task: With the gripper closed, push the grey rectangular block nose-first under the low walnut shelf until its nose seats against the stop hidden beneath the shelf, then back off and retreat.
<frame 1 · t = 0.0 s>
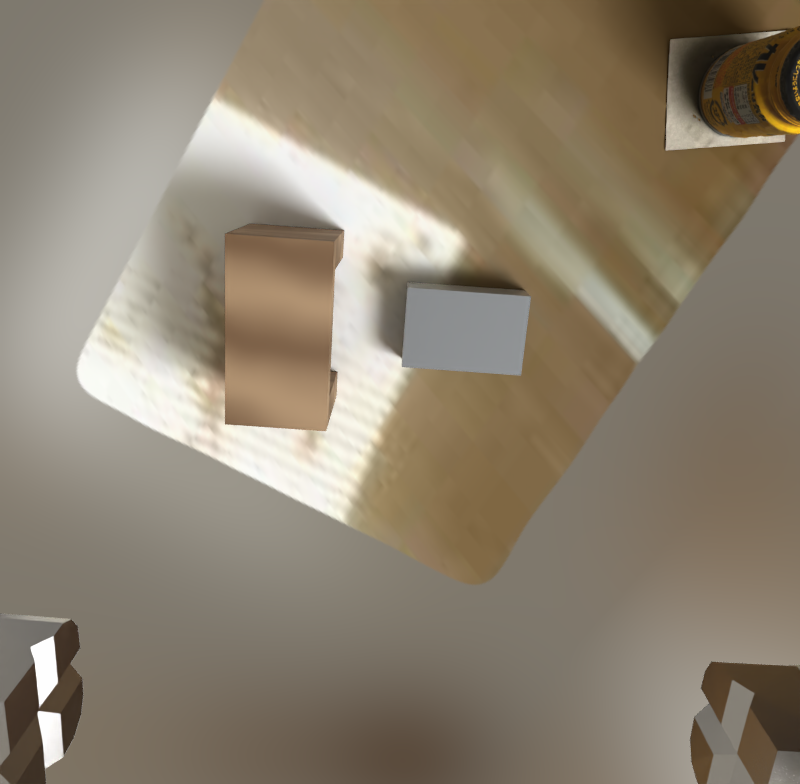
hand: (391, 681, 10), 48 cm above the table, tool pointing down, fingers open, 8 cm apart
condiment: (725, 92, 52), on the table
shelf: (294, 312, 57), on the table
grey rectangular block: (462, 323, 57), on the table
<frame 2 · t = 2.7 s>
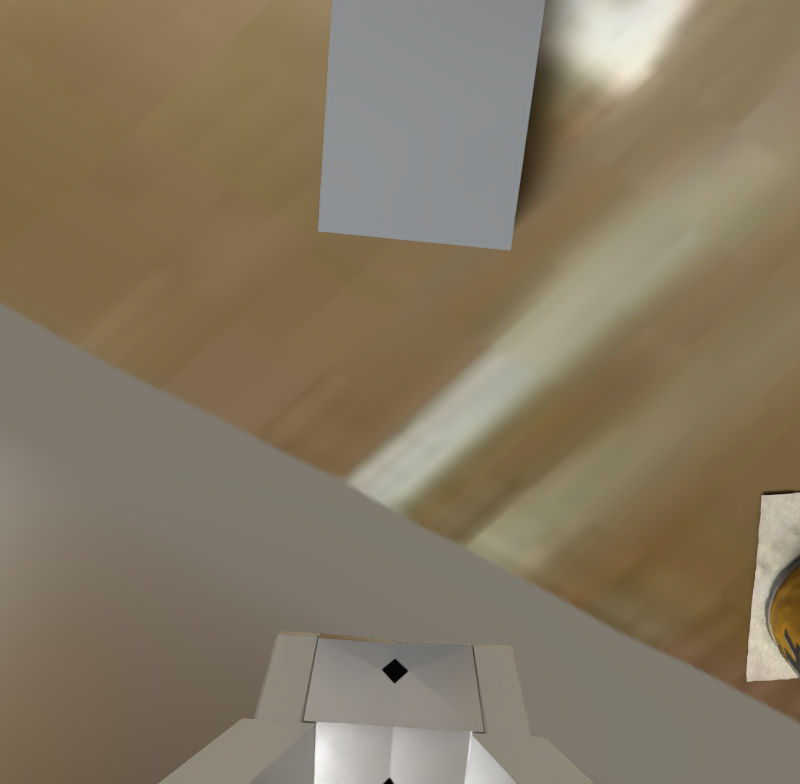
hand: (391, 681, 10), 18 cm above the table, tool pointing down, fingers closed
grey rectangular block: (428, 93, 24), on the table
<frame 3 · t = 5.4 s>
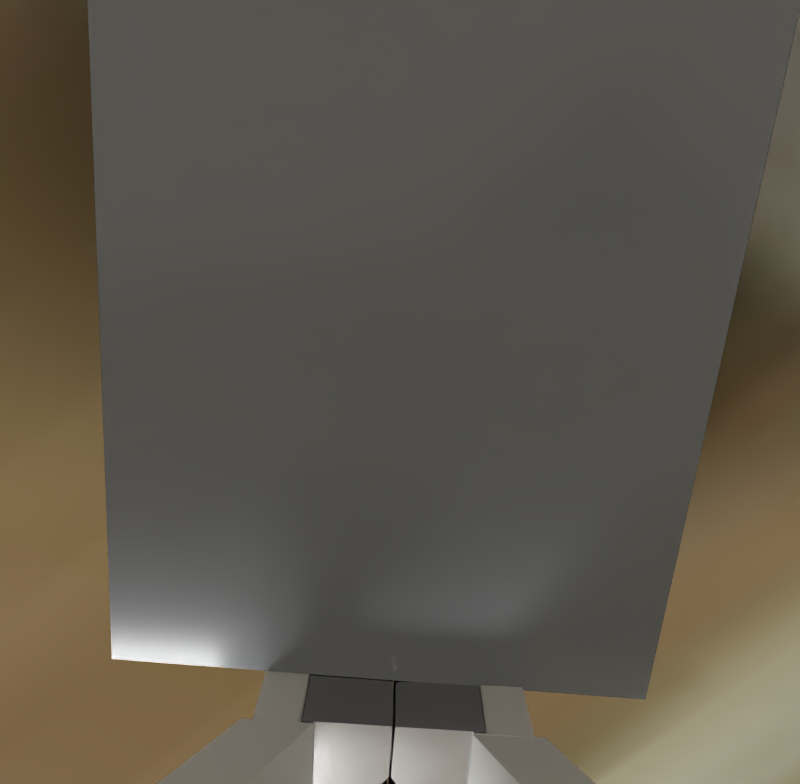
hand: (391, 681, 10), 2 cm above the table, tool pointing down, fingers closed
grey rectangular block: (413, 245, 10), on the table, touching gripper
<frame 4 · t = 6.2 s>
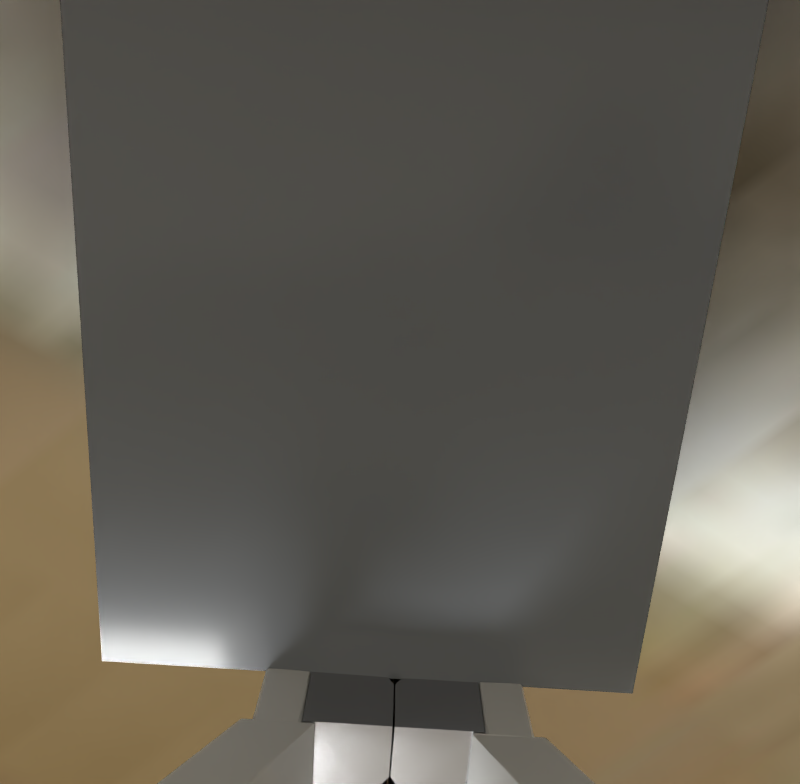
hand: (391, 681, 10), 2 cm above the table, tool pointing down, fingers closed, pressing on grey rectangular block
grey rectangular block: (397, 244, 10), on the table, touching gripper
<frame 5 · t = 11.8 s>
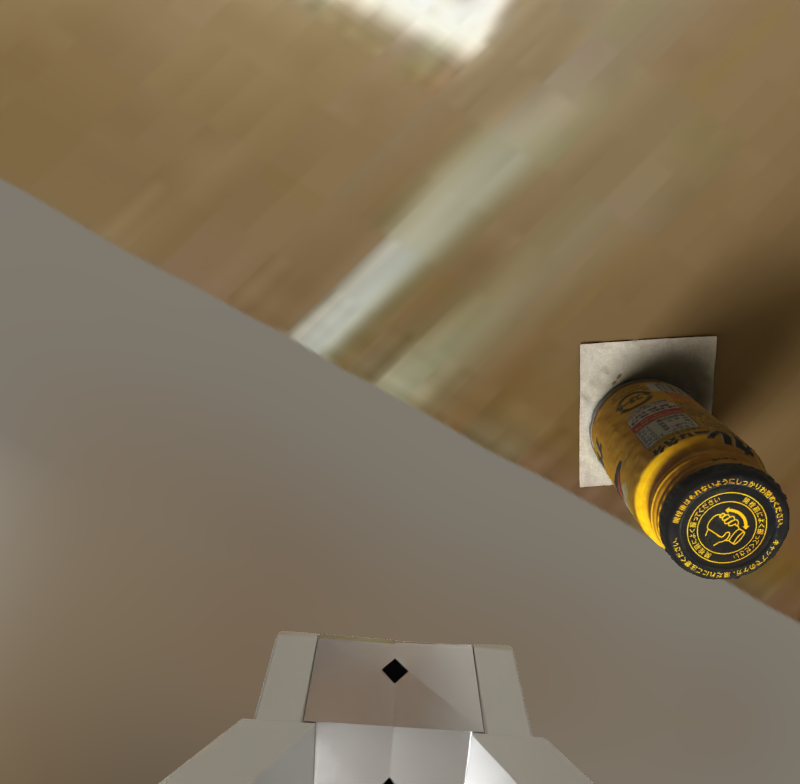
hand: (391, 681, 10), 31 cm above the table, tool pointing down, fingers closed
condiment: (643, 411, 41), on the table
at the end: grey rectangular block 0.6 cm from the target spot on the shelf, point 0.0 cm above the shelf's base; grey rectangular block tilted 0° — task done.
